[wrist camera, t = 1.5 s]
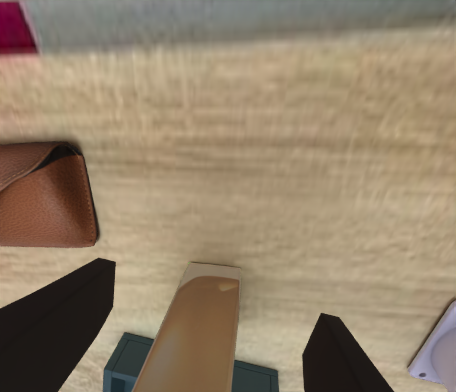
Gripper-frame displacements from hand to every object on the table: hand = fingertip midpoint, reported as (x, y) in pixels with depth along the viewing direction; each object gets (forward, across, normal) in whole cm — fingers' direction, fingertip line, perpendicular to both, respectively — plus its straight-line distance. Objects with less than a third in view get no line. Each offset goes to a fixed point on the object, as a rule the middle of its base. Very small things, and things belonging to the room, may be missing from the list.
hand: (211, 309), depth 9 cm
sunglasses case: (+11, +19, +5) cm, 22 cm away
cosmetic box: (+11, 0, +9) cm, 14 cm away
